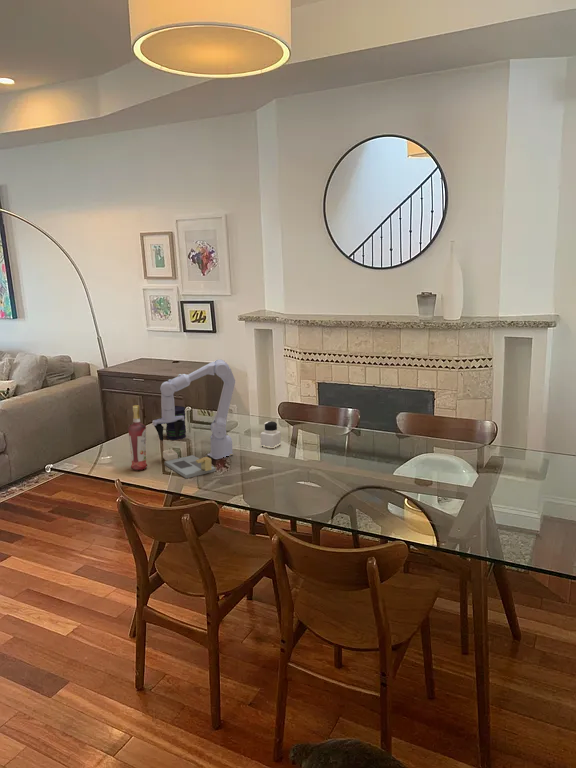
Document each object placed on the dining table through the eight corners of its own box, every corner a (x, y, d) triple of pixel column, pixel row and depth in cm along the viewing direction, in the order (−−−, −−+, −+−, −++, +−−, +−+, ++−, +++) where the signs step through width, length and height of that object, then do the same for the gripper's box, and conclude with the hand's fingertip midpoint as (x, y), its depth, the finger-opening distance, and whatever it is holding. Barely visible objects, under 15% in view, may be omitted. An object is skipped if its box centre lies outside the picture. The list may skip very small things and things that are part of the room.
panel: (193, 458, 268) (193, 455, 267) (215, 471, 252) (215, 467, 252) (164, 464, 260) (164, 461, 259) (186, 478, 244) (186, 475, 244)
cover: (172, 456, 270) (172, 448, 269) (178, 461, 264) (177, 452, 263) (163, 458, 268) (162, 449, 267) (168, 463, 262) (168, 454, 261)
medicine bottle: (280, 445, 286) (280, 421, 283) (272, 449, 280) (272, 425, 277) (268, 443, 289) (268, 419, 287) (260, 447, 284) (260, 423, 281)
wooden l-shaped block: (207, 467, 252) (207, 456, 251) (211, 469, 250) (211, 458, 249) (195, 470, 249) (194, 459, 248) (199, 472, 246) (198, 461, 245)
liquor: (143, 472, 250) (140, 408, 244) (127, 471, 252) (123, 407, 246) (150, 466, 257) (147, 404, 251) (135, 465, 259) (131, 403, 253)
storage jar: (184, 440, 293) (183, 411, 290) (164, 439, 293) (163, 410, 290) (187, 434, 303) (186, 405, 300) (168, 433, 303) (167, 405, 300)
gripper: (178, 404, 269) (179, 433, 272) (148, 409, 260) (150, 438, 263) (186, 407, 263) (187, 436, 266) (155, 412, 255) (157, 443, 258)
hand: (169, 438), depth 264 cm, fingers open, 7 cm apart
